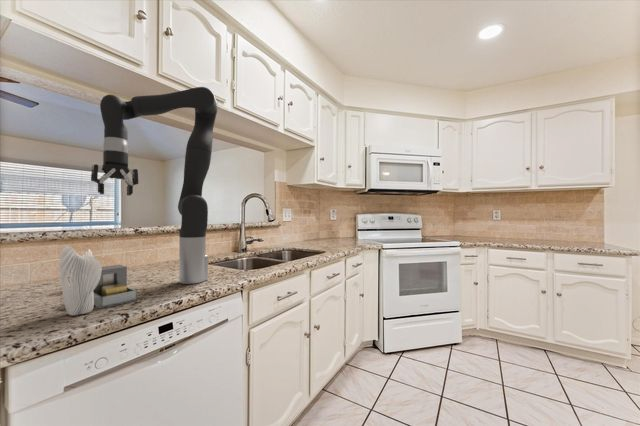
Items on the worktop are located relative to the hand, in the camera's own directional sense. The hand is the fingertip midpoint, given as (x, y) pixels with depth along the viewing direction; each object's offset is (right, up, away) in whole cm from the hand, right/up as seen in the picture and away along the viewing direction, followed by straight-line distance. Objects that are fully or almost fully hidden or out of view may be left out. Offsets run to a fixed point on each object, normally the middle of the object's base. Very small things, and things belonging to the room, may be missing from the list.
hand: (115, 194), depth 104 cm
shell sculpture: (+13, -33, -31) cm, 47 cm away
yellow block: (+14, -31, -21) cm, 39 cm away
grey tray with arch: (+13, -33, -20) cm, 41 cm away
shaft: (+3, -31, -12) cm, 34 cm away
